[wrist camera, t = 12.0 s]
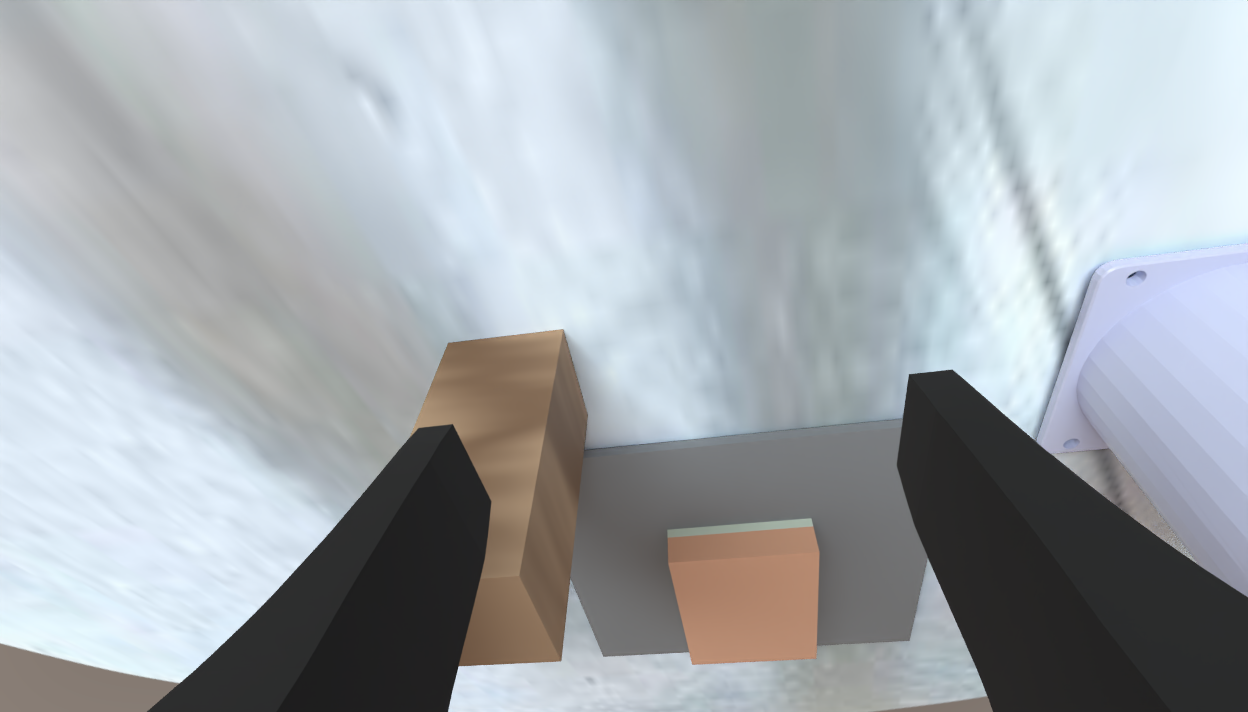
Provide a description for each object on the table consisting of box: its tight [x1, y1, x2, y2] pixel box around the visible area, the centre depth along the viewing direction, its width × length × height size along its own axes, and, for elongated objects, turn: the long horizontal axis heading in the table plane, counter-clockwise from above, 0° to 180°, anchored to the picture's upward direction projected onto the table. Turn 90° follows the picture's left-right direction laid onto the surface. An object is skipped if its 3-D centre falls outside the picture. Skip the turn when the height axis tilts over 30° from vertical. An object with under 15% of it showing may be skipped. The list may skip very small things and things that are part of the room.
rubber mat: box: [570, 419, 928, 657], centre depth 28 cm, size 16×16×1 cm
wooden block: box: [410, 329, 588, 666], centre depth 19 cm, size 4×4×9 cm
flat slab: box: [667, 518, 819, 665], centre depth 28 cm, size 6×2×9 cm
